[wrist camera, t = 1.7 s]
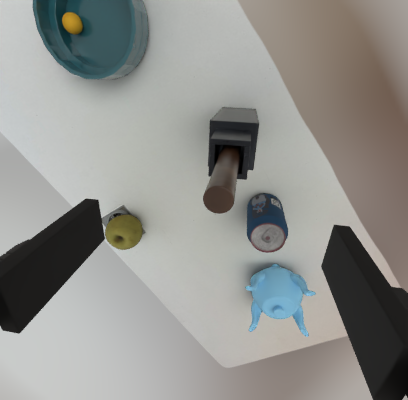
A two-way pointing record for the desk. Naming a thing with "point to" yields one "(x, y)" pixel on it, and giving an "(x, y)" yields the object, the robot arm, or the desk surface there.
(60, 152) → the desk surface
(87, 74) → the bowl
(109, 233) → the apple
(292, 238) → the desk surface
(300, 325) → the teapot
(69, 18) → the ball
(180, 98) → the desk surface
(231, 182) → the stick
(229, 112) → the holder
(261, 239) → the soda can
